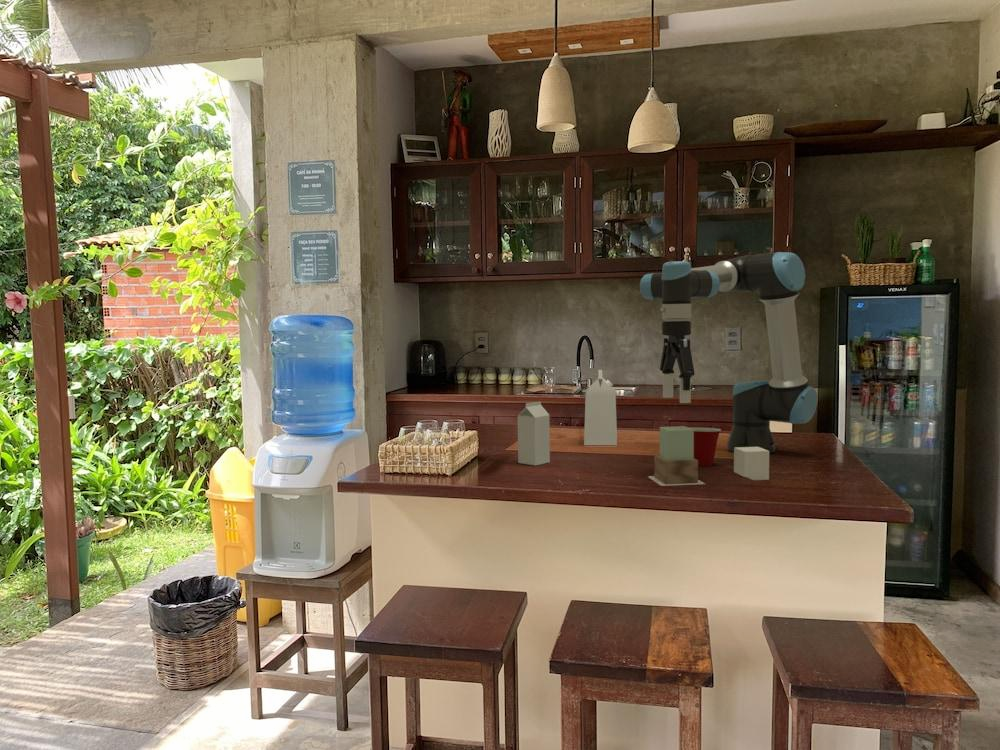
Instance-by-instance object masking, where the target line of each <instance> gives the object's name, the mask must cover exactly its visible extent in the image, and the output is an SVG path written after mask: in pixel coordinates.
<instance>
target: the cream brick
mask: <svg viewBox="0 0 1000 750" xmlns="http://www.w3.org/2000/svg"><path fill="white" fill-rule="evenodd" d="M733 473H735V474H738V475H739V476H742V477H743V478H747V479H750V480H751V481H769V480H770V453H769V451H768V450H765V449H763V448H760V447H735V448H734V452H733Z"/></svg>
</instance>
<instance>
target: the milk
mask: <svg viewBox="0 0 1000 750" xmlns="http://www.w3.org/2000/svg"><path fill="white" fill-rule="evenodd" d="M613 386H614V384H613V383H612V382H611V381H610V379H607V380H606V379H605V378H604V377H603V369H598V377H597V379H595V381H594V382H593V383H592V384H591V385H589V386H588V387H587V389H586V390H585V398H584V399H585V401H584V402H585V405H584V406H585V407H584V435H583V437H584V438H583V446H584V445H617V446H618V431H617V430H618V428H617V424H618V423H617V395H616V389H615V388H614V387H613Z"/></svg>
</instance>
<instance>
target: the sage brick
mask: <svg viewBox="0 0 1000 750" xmlns="http://www.w3.org/2000/svg"><path fill="white" fill-rule="evenodd" d="M690 428H691V427H688V426H685V425H682V426H681V425H679V426H659V455H660V457H662V458H664V459H666V460H667V461H677V460H694V430H693V429H690Z"/></svg>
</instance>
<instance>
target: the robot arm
mask: <svg viewBox="0 0 1000 750" xmlns="http://www.w3.org/2000/svg"><path fill="white" fill-rule="evenodd" d="M661 270H662V272H652V273H646V274H644V275H643V276H642V278H640V281H639V291H640V295H641V296H642V297H643V298H644V299H645V300H653V301H657V300H662V301H661V308H660V310H659V311H660V312H661V316H662V317H661V318H662V319H663V320H664V321H662V322H661V334H662V336H668V337H664V338H663V347H662V352H661V353H662V354H661V359H660V367H659V370H660V371H661V373H662V398H663V399H664V398H665V399H667V398H668V399H669V398H674V373H675V370H674V366H675V362H676V363H677V366H678V369H679V370H678V371H679V376H678V379H679V404H691V403H692V401H691V400H692V397H691V396H692V394H691V393H692V378H693V376H695V369H694V363H693V355H692V350H691V340H690V338H686V337H685V336H690V335H691V334H692V322H691V321H690V319H692V299H707V298H708V299H710V298H712V297H715V295H717V293H719V292H723V293H724V292H725V293H726V292H743V293H757V296H758V300H759V301H760V302H761V303H763V304H764V313H765V318H766V319H765V320H766V329H767V336H768V337H767V338H768V345H769V354H770V364H771V370H772V371H771V373H772V378H771V379H770V380H769V379H768V380H767V379H764V380H753V381H743V382H736V383H735V384H734V386H733V388H732V389H733V390H732V395H731V396H732V429H731V432H730V434H729V436H728V439H727V444H726V450H727V449H728V450H727V451H729V450H730V451H729V452H731V453H734V448H735V447H760V448H763V449H765V450H768V451H769V454H772V453H774V452H776V443H775V439H774V437H773V434H772V431H771V428H770V427H771V425H770V422H778V423H787V424H792V425H796V424H801V425H803V424H807V423H808V422H810V420H811V419H812V418H813V417H814V415H815V413H816V410H817V406H818V402H819V401H818V393H817V391H816V389H815V388H814V387H812V386H809V380H808V378H807V377H805V376H804V375H803V372H802V362H801V353H800V343H799V335H798V324H797V315H796V305H795V304H796V303H795V300H796V298H797V297H798V296H799V295H800V294H799V293H800V292H799V291H800V290H801V289H803V287H804V286H805V280H806V271H805V266H804V264H803V261H802V260H801V258H800V257H799V256H798V255H797V254H796V253H794V252H789V251H788V252H787V251H785V252H782V251H777V252H767V253H765V252H764V253H757V254H756V253H755V254H746V255H742V256H738V257H734V258H730V259H726V260H721V261H718V262H715V264H714V265H708V266H701V267H692V263H691V262H690V261H684V260H683V261H681V260H680V261H679V260H677V261H667V262H665V263H663V264H662V268H661Z"/></svg>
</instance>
